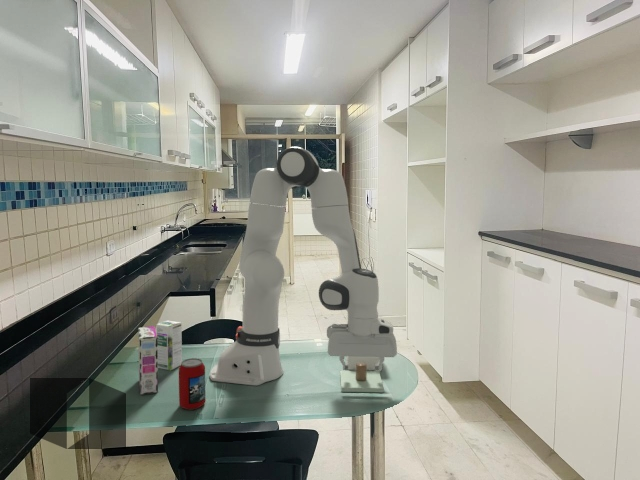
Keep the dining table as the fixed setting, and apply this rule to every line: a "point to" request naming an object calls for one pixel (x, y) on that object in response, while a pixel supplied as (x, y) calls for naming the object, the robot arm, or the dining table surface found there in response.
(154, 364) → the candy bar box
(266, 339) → the robot arm
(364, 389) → the lid
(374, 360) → the tub
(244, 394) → the dining table surface
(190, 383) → the beverage can
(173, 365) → the syrup box
